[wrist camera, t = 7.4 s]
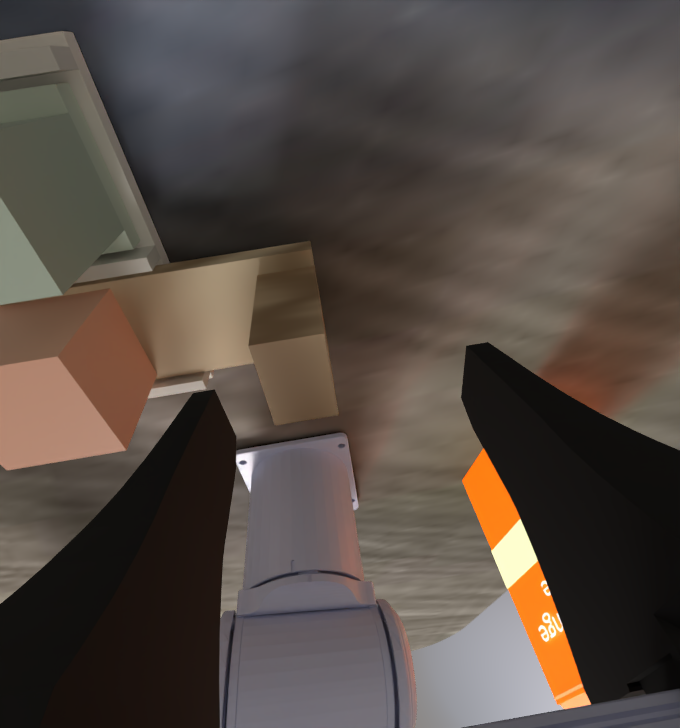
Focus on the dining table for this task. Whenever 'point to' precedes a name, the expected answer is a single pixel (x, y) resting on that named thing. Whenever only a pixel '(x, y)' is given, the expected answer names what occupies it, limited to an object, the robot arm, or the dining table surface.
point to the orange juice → (524, 581)
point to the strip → (53, 195)
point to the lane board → (66, 65)
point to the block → (69, 379)
